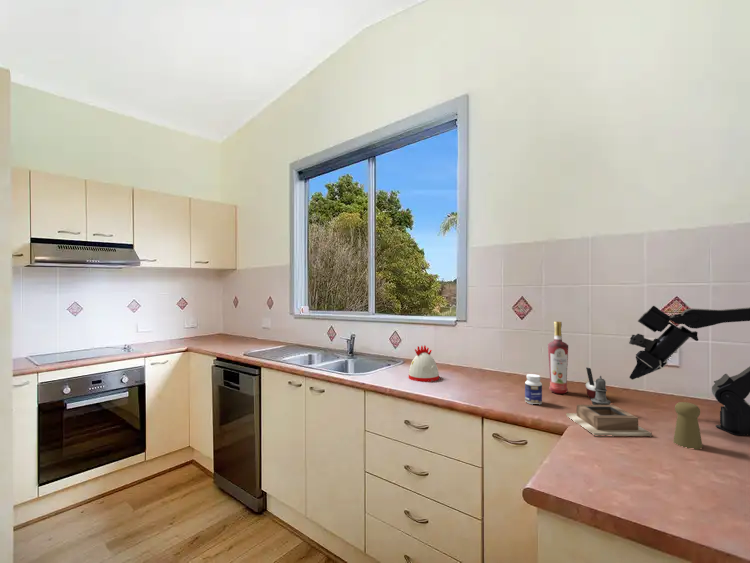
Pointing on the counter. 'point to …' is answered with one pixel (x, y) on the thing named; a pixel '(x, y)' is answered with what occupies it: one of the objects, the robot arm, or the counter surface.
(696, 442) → the cork
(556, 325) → the liquor
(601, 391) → the grey chess piece
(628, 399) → the counter surface
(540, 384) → the pill bottle
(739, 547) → the counter surface
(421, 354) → the kitchen timer
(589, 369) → the cocoa
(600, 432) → the socket block
